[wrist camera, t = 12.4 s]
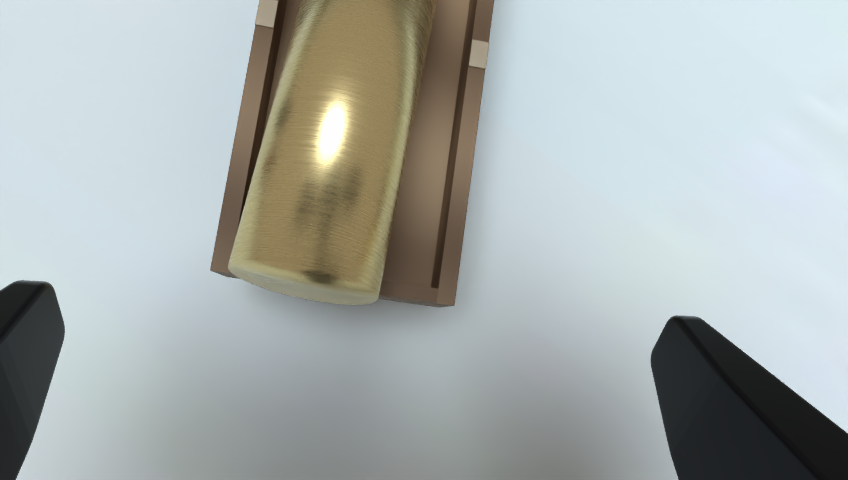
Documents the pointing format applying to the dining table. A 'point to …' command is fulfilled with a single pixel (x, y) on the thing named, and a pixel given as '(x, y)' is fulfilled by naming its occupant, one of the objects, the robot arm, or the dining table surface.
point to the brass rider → (334, 151)
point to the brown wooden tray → (426, 156)
